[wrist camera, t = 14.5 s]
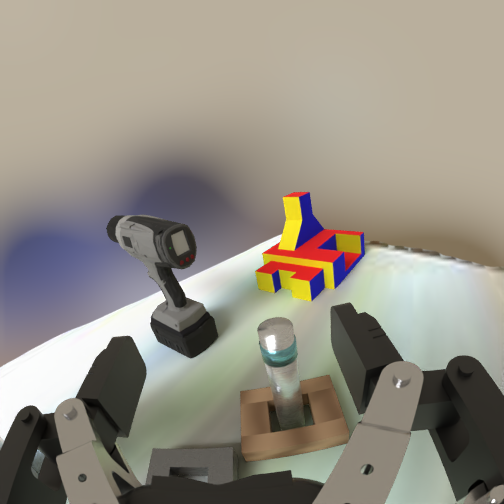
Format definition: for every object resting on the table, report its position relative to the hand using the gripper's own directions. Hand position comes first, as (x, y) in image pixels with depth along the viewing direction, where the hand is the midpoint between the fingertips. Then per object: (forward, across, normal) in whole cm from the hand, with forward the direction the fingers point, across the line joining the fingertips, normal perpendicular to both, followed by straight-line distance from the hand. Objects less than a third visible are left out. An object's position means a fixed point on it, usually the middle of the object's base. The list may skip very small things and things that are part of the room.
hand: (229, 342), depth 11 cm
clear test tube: (+12, -2, +25) cm, 28 cm away
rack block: (+12, -2, +25) cm, 28 cm away
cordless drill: (+37, +18, +26) cm, 49 cm away
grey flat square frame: (+3, +10, +25) cm, 27 cm away
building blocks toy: (+54, -14, +26) cm, 62 cm away
